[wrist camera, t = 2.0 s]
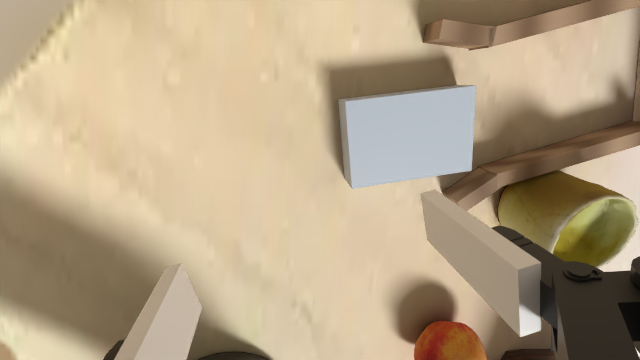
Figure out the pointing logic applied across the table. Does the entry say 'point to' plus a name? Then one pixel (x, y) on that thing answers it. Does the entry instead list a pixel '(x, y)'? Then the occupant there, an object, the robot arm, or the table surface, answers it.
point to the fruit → (448, 343)
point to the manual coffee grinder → (529, 354)
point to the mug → (569, 217)
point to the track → (550, 156)
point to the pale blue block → (407, 134)
